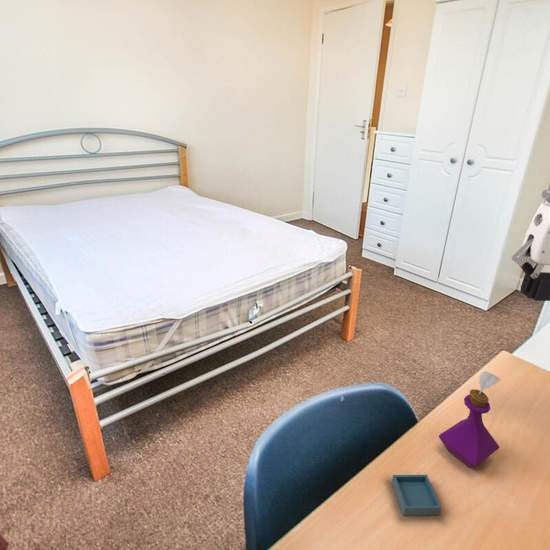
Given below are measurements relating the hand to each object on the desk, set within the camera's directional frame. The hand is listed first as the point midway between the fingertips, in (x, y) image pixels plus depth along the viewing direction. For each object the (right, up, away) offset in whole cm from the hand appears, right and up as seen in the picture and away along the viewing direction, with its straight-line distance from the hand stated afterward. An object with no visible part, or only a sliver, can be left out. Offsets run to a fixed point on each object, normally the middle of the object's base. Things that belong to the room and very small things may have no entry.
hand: (539, 294), depth 71 cm
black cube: (0, 0, 0) cm, 0 cm away
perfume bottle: (-14, -30, 0) cm, 33 cm away
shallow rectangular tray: (-27, -33, -9) cm, 43 cm away
